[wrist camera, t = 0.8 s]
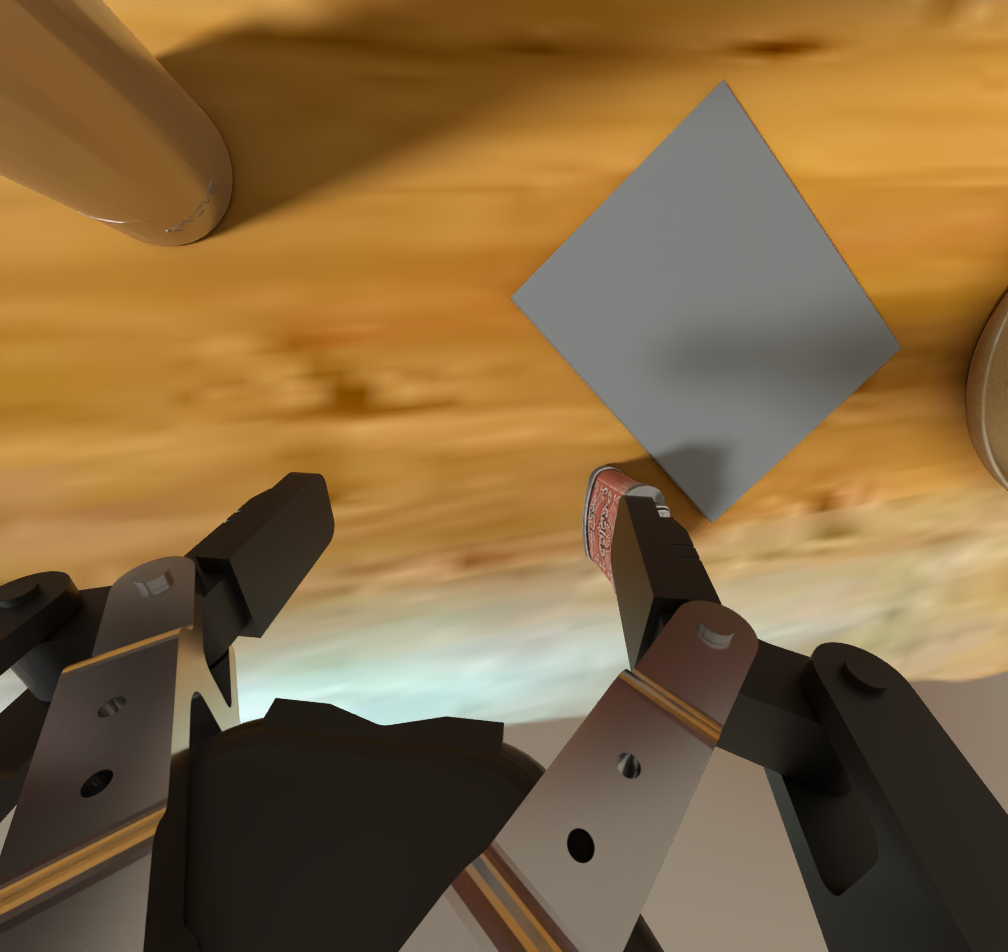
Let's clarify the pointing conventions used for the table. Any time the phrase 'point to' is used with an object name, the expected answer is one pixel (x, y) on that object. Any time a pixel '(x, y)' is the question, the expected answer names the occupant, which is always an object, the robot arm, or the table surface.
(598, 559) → the lighter
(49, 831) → the robot arm
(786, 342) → the mat
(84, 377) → the table surface
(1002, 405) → the plant saucer
